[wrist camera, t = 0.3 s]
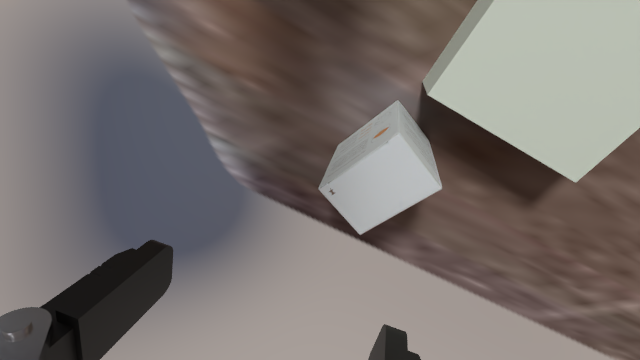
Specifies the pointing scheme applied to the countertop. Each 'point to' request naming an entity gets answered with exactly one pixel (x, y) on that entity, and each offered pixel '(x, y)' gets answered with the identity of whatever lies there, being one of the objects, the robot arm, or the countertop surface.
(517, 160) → the countertop surface
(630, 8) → the block
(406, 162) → the small box
